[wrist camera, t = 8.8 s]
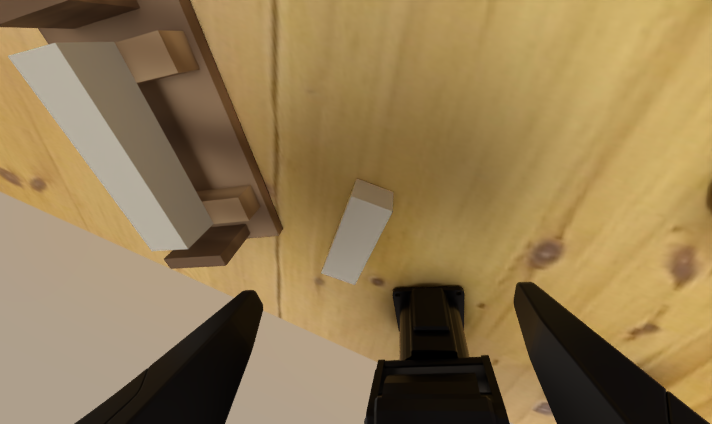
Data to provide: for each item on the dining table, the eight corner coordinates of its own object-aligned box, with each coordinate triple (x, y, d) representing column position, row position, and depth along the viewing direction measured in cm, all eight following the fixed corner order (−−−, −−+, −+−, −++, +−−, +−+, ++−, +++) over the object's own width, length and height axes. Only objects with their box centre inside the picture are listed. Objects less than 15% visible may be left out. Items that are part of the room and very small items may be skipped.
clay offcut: (354, 284, 23) (359, 260, 25) (392, 211, 18) (393, 190, 21) (321, 273, 23) (329, 249, 25) (351, 196, 18) (357, 176, 21)
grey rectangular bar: (213, 223, 21) (188, 248, 18) (180, 226, 21) (151, 251, 19) (114, 41, 15) (55, 42, 12) (71, 52, 15) (7, 56, 13)
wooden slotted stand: (282, 228, 24) (258, 268, 20) (188, 236, 26) (148, 274, 22) (175, -36, 15) (87, -64, 11) (43, 10, 17) (-73, 1, 13)
